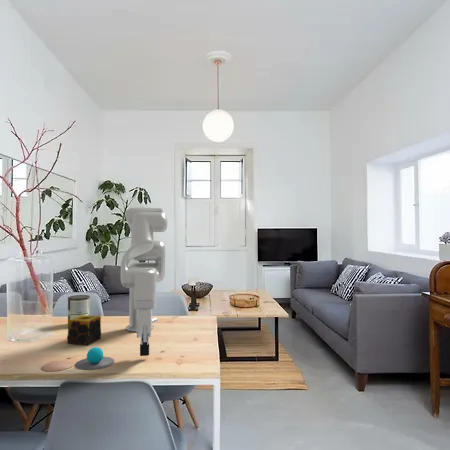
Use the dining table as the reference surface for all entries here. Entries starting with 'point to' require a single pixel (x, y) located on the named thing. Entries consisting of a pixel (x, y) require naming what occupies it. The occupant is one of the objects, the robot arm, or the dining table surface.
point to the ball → (94, 355)
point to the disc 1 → (57, 366)
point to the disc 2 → (86, 365)
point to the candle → (84, 330)
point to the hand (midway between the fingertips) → (144, 355)
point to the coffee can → (78, 306)
